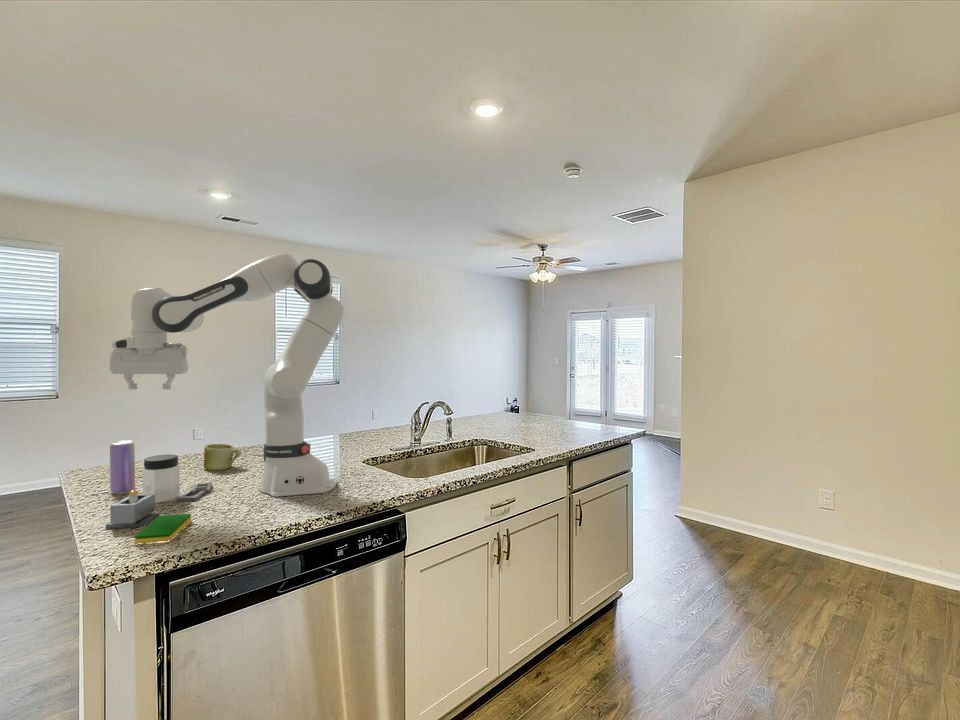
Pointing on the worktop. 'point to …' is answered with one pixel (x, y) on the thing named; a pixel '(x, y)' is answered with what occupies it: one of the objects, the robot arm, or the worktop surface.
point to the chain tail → (196, 492)
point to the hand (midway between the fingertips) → (149, 389)
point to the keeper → (133, 498)
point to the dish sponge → (163, 528)
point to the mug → (219, 456)
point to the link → (132, 509)
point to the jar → (161, 477)
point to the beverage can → (122, 467)
